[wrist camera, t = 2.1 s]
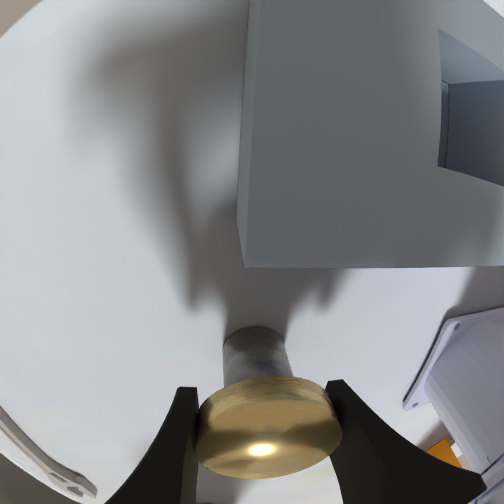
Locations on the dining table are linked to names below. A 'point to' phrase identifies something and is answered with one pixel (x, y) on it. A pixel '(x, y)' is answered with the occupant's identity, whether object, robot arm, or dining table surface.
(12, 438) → the adjustable wrench
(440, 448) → the orange juice
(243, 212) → the block
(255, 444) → the brass door knob
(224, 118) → the dining table surface
